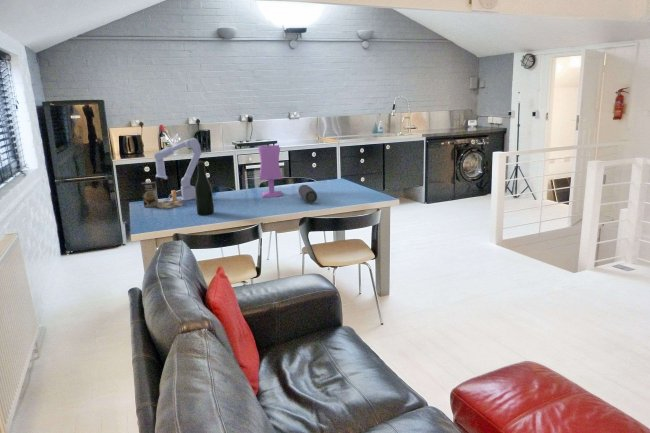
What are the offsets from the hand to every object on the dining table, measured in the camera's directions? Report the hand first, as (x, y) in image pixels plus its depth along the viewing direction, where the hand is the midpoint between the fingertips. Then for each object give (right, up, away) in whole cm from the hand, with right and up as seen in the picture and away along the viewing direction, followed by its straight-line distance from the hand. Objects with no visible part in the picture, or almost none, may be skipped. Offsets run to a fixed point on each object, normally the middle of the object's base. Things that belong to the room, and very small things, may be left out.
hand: (163, 188), depth 331 cm
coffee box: (-4, -13, -11) cm, 17 cm away
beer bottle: (+40, -18, -38) cm, 58 cm away
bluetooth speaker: (+103, -10, -13) cm, 104 cm away
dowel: (+12, -12, -12) cm, 21 cm away
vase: (+76, -5, +10) cm, 77 cm away
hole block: (+9, -13, -13) cm, 21 cm away
